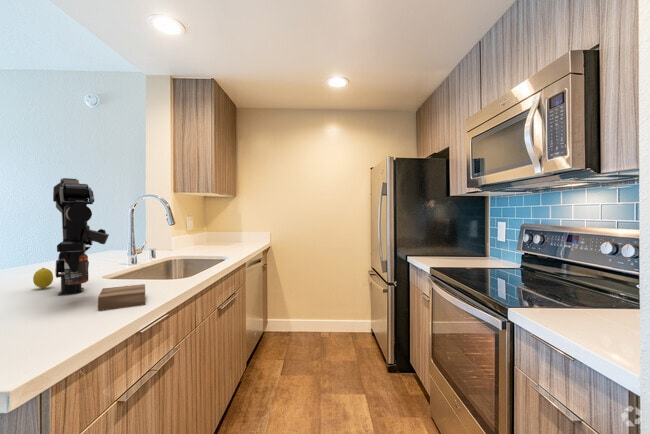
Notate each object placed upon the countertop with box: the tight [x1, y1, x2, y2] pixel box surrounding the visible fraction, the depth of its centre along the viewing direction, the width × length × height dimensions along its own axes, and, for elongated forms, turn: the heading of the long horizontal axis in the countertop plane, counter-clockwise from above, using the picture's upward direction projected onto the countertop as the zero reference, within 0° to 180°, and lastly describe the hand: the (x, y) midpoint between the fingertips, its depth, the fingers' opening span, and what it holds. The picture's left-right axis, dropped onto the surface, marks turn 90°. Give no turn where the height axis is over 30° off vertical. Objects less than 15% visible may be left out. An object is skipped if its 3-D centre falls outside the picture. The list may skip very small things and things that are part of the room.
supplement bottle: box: [64, 252, 89, 285], centre depth 98 cm, size 6×6×11 cm
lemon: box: [32, 267, 54, 290], centre depth 114 cm, size 6×6×8 cm
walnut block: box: [97, 283, 146, 312], centre depth 98 cm, size 12×12×4 cm
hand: (76, 270), depth 98 cm, fingers closed on supplement bottle, 6 cm apart
